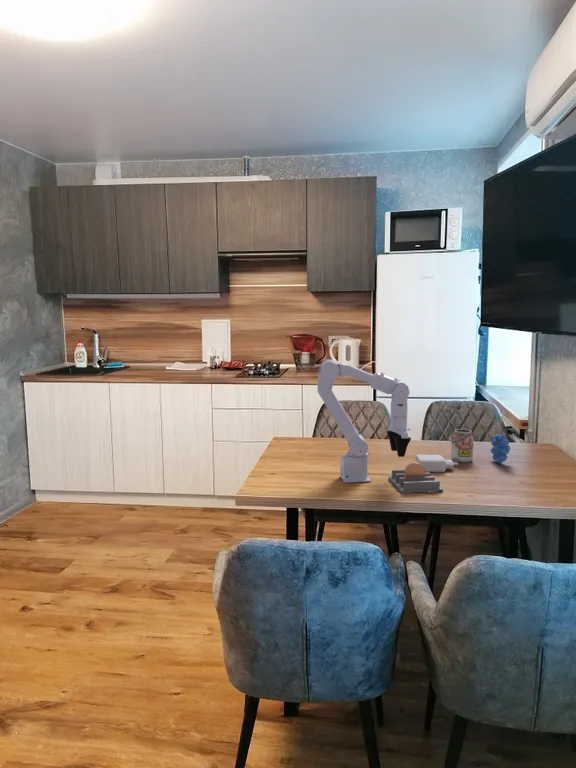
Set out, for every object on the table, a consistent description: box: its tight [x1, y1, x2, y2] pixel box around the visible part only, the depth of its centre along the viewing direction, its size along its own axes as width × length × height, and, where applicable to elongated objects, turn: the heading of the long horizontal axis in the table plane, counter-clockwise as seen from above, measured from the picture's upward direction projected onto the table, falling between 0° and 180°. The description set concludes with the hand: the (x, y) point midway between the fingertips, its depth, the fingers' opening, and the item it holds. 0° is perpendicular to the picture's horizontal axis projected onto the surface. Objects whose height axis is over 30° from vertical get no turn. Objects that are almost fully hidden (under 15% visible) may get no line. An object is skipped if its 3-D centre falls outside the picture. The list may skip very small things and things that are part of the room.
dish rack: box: [388, 468, 444, 494], centre depth 188 cm, size 14×15×4 cm
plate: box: [404, 461, 427, 477], centre depth 188 cm, size 7×2×7 cm, turn 96°
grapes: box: [490, 433, 511, 465], centre depth 212 cm, size 12×7×12 cm, turn 6°
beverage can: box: [448, 428, 475, 464], centre depth 217 cm, size 9×8×12 cm
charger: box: [414, 454, 459, 473], centre depth 207 cm, size 5×9×15 cm
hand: (397, 453), depth 193 cm, fingers open, 7 cm apart
